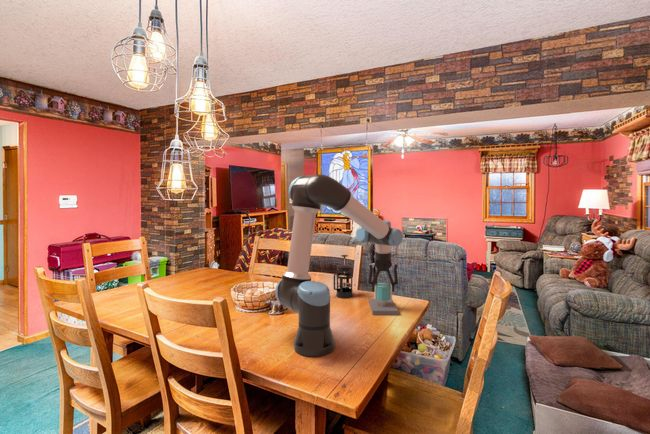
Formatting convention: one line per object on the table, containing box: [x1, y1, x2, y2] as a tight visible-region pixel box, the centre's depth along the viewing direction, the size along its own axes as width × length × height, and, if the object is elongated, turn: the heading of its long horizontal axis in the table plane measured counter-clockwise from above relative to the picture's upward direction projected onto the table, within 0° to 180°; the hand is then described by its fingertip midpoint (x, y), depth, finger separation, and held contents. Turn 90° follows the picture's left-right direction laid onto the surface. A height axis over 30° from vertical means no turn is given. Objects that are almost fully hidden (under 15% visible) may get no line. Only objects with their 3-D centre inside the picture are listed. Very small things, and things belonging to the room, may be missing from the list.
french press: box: [333, 254, 354, 299], centre depth 182 cm, size 12×9×23 cm
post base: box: [368, 298, 399, 316], centre depth 162 cm, size 18×12×11 cm, turn 178°
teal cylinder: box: [375, 282, 391, 301], centre depth 161 cm, size 7×7×7 cm
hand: (382, 298), depth 162 cm, fingers closed on teal cylinder, 7 cm apart
